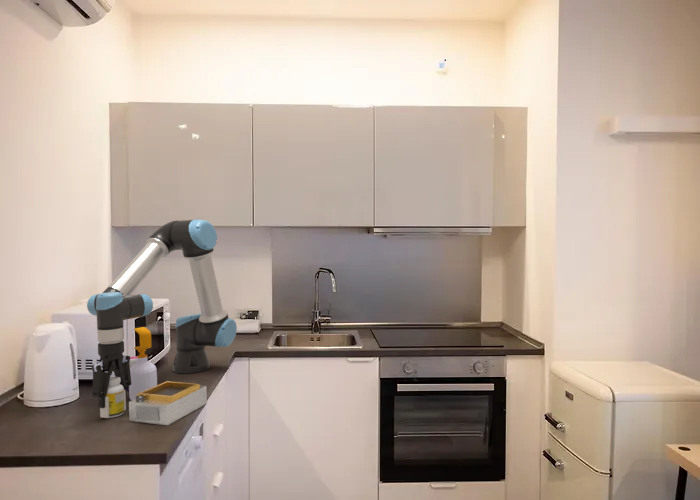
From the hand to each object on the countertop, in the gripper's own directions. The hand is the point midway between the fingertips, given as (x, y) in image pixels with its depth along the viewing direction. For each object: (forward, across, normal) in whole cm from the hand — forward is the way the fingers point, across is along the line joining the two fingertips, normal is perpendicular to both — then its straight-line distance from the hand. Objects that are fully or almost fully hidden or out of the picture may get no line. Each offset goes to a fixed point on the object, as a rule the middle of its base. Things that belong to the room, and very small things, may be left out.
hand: (113, 413), depth 158 cm
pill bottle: (+1, 0, 0) cm, 1 cm away
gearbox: (0, -7, +16) cm, 17 cm away
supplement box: (+1, -25, -14) cm, 29 cm away
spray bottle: (+1, -17, -3) cm, 17 cm away
